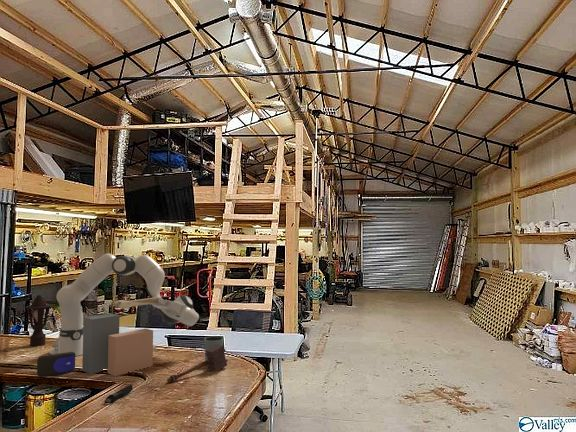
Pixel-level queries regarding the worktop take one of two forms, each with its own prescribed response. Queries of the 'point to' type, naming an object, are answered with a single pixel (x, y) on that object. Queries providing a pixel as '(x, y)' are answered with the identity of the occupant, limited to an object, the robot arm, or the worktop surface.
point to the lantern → (38, 320)
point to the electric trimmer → (118, 394)
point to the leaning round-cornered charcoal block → (55, 364)
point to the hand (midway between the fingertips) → (155, 299)
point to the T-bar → (135, 302)
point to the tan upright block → (130, 351)
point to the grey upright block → (97, 341)
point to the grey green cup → (212, 342)
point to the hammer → (208, 361)
